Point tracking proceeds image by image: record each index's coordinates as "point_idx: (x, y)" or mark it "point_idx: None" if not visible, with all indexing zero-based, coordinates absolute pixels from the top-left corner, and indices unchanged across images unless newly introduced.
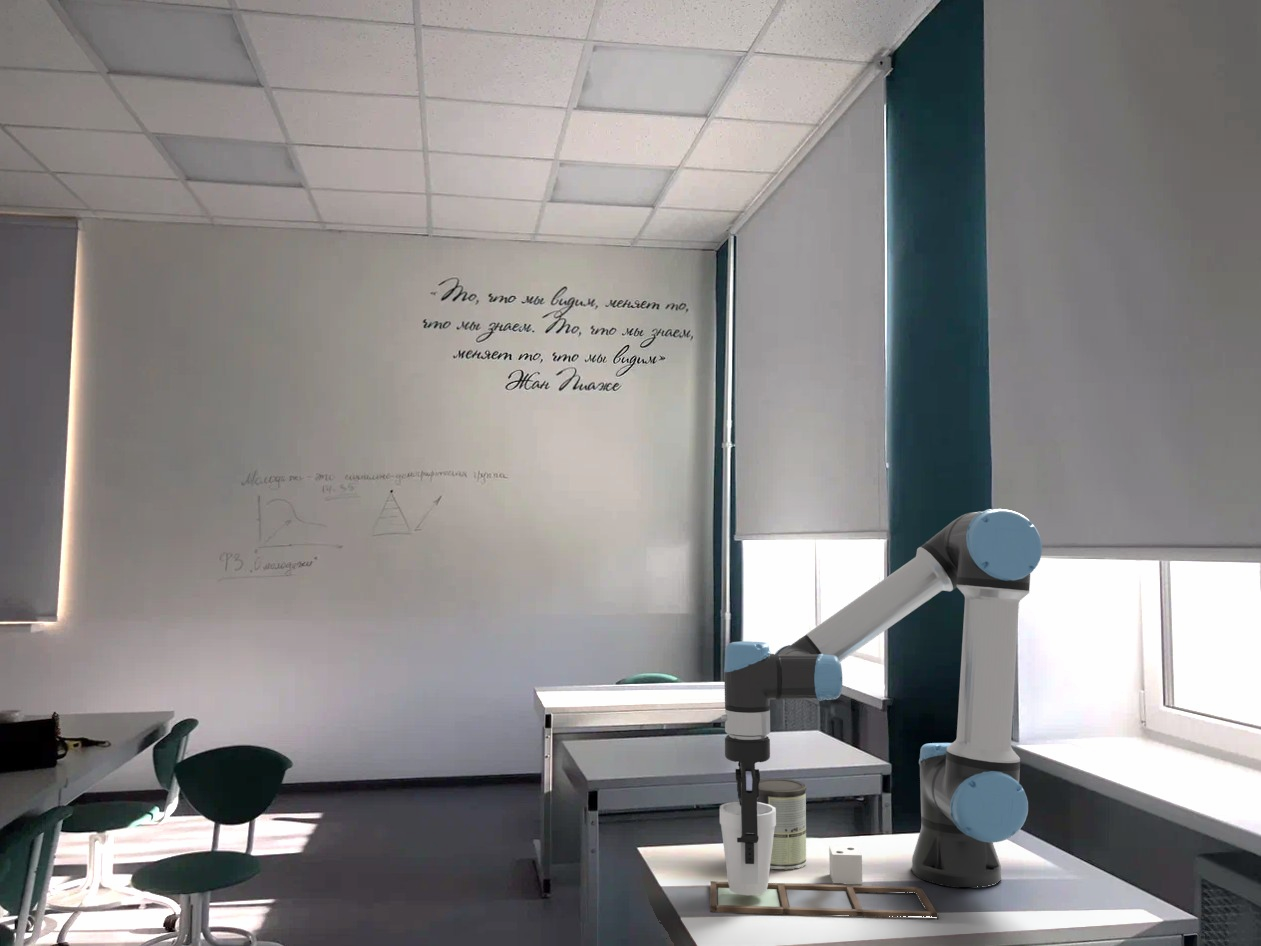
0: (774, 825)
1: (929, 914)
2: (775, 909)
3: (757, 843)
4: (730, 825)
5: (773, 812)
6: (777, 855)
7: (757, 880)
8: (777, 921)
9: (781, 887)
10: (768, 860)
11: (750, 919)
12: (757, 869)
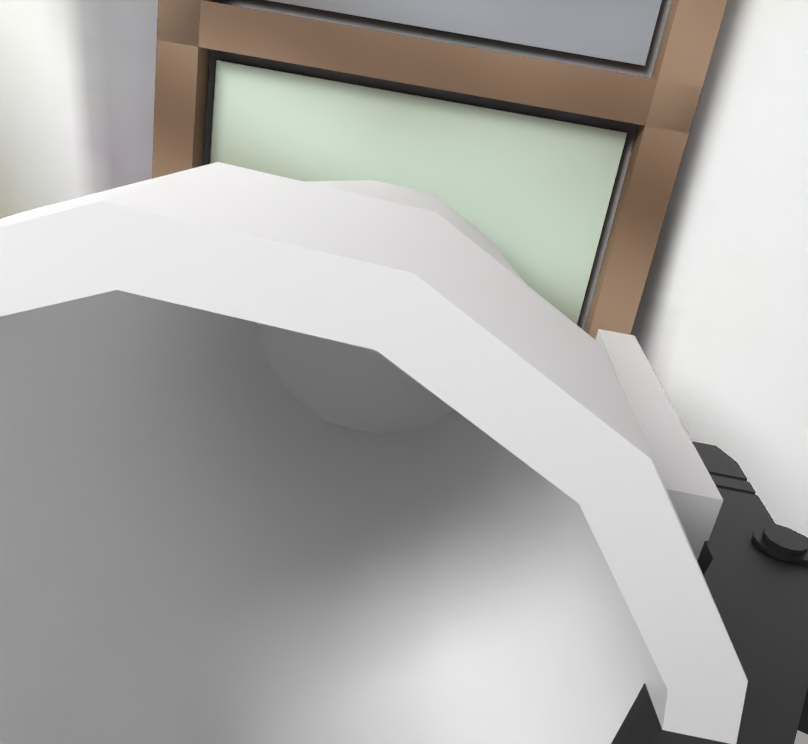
0: (485, 254)
1: None
2: (673, 185)
3: (714, 492)
4: None
5: (522, 356)
6: None
7: (636, 347)
8: (792, 199)
9: (250, 33)
10: (475, 238)
11: (718, 353)
12: (656, 379)
